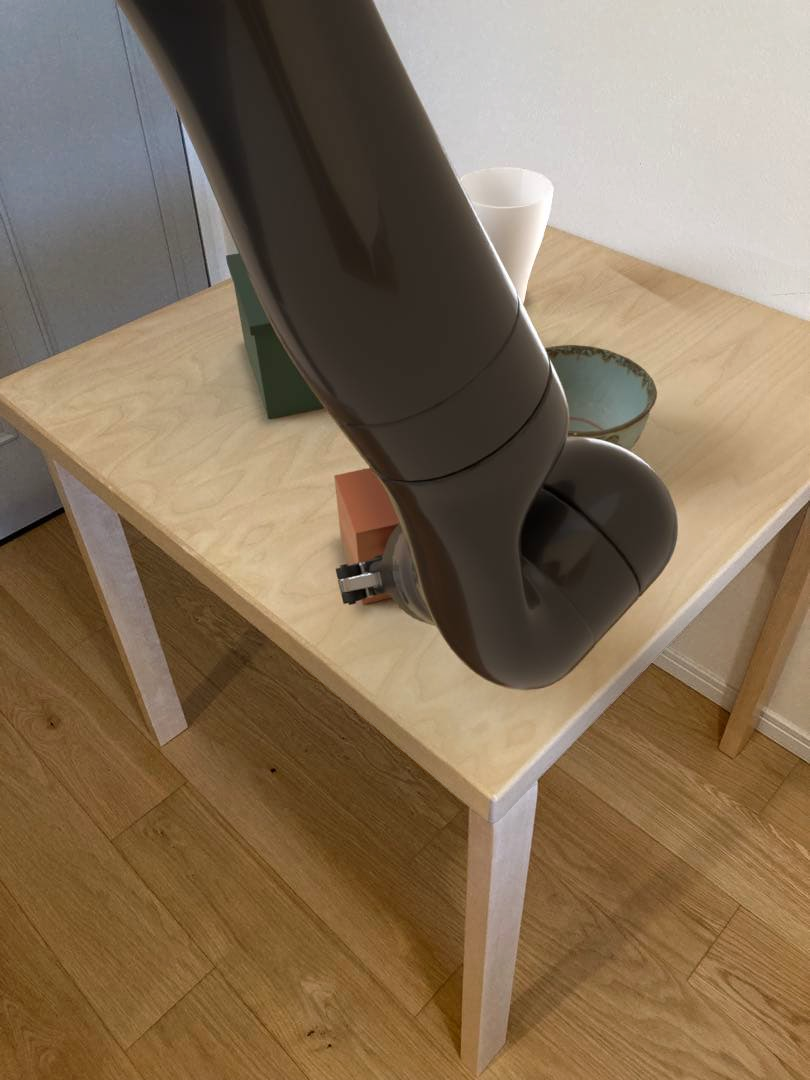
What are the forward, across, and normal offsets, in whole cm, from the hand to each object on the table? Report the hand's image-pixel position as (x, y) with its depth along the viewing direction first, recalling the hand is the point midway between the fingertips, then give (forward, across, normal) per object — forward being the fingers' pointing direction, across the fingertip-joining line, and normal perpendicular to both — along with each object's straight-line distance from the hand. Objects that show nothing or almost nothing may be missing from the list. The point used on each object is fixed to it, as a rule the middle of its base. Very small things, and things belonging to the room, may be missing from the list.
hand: (405, 566), depth 69 cm
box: (+27, 0, -22) cm, 35 cm away
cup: (+32, -24, -27) cm, 48 cm away
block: (+6, 0, 0) cm, 6 cm away
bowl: (+12, -20, -6) cm, 24 cm away
